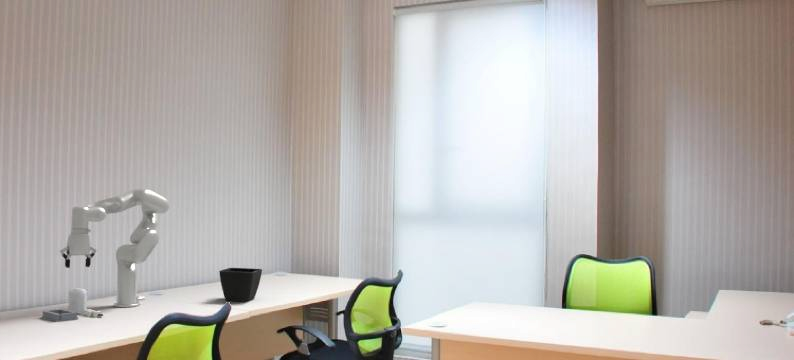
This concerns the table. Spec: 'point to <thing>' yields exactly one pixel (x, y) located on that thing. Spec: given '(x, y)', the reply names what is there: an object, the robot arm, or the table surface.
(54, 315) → the end holder
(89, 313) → the white cube chain
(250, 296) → the flower pot
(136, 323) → the table surface
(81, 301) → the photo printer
